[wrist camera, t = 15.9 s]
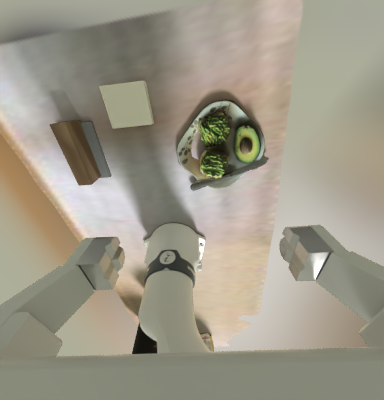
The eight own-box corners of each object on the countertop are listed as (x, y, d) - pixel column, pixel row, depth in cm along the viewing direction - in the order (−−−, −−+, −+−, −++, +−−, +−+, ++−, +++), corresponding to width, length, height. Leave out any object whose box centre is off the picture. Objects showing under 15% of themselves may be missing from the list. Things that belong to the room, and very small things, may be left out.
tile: (116, 127, 35) (154, 123, 34) (112, 128, 33) (152, 124, 32) (104, 86, 31) (146, 81, 31) (98, 86, 29) (143, 80, 29)
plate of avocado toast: (214, 204, 45) (216, 214, 41) (159, 161, 39) (156, 169, 35) (275, 149, 37) (285, 155, 33) (220, 85, 31) (224, 83, 27)
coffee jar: (165, 322, 80) (159, 375, 65) (143, 323, 81) (132, 376, 65) (161, 311, 75) (153, 367, 59) (137, 312, 75) (124, 368, 60)
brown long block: (79, 120, 33) (64, 123, 29) (101, 176, 39) (91, 184, 36) (65, 121, 33) (49, 124, 29) (89, 176, 39) (78, 185, 36)
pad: (111, 176, 40) (110, 177, 40) (83, 177, 40) (81, 179, 40) (91, 121, 34) (90, 121, 33) (58, 124, 34) (56, 124, 33)
